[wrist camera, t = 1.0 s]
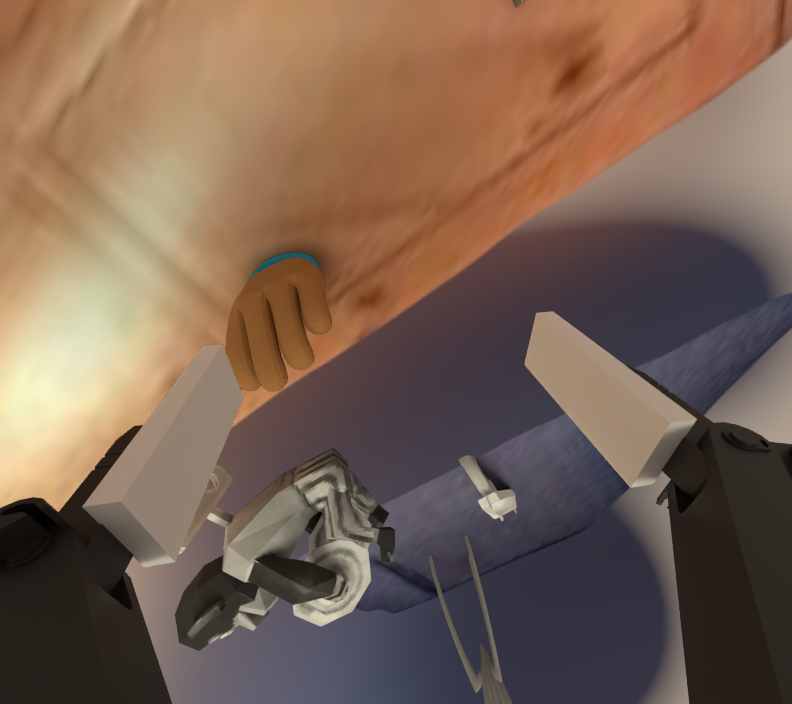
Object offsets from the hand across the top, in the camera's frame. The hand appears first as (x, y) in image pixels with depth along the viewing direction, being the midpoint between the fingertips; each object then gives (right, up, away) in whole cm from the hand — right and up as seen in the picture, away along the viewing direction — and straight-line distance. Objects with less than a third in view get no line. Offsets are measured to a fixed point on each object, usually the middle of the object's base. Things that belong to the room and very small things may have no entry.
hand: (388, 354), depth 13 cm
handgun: (+18, -23, +46) cm, 54 cm away
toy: (-18, -22, +39) cm, 48 cm away
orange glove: (-12, +7, +22) cm, 26 cm away
